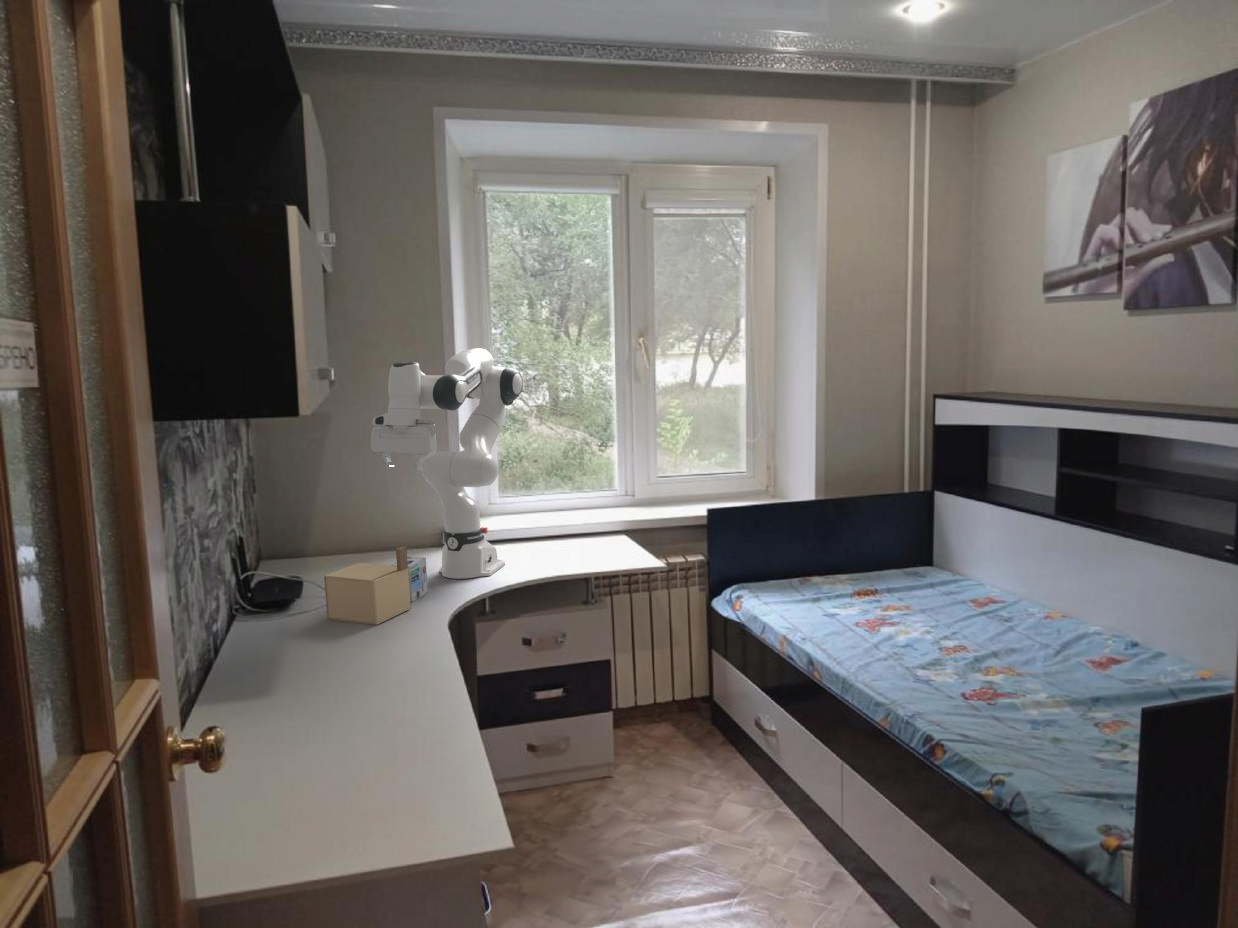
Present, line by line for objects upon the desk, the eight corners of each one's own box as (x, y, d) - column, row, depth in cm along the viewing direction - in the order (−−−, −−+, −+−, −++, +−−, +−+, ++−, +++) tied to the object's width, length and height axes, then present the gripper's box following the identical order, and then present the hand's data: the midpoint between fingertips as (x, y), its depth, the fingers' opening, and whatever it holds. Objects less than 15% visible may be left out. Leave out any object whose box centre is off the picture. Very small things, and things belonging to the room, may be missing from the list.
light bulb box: (412, 603, 240) (410, 565, 239) (390, 602, 241) (388, 565, 240) (428, 592, 250) (426, 556, 249) (407, 591, 252) (405, 556, 250)
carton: (362, 603, 240) (359, 562, 239) (408, 609, 234) (406, 567, 232) (327, 618, 228) (324, 575, 226) (375, 625, 221) (372, 580, 220)
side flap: (407, 608, 234) (404, 545, 232) (411, 608, 234) (407, 546, 231) (374, 623, 221) (370, 558, 219) (378, 624, 221) (373, 558, 218)
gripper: (442, 420, 235) (441, 470, 235) (382, 419, 243) (381, 467, 243) (428, 420, 229) (427, 471, 229) (367, 418, 237) (367, 468, 238)
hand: (403, 469), depth 236 cm, fingers open, 8 cm apart
